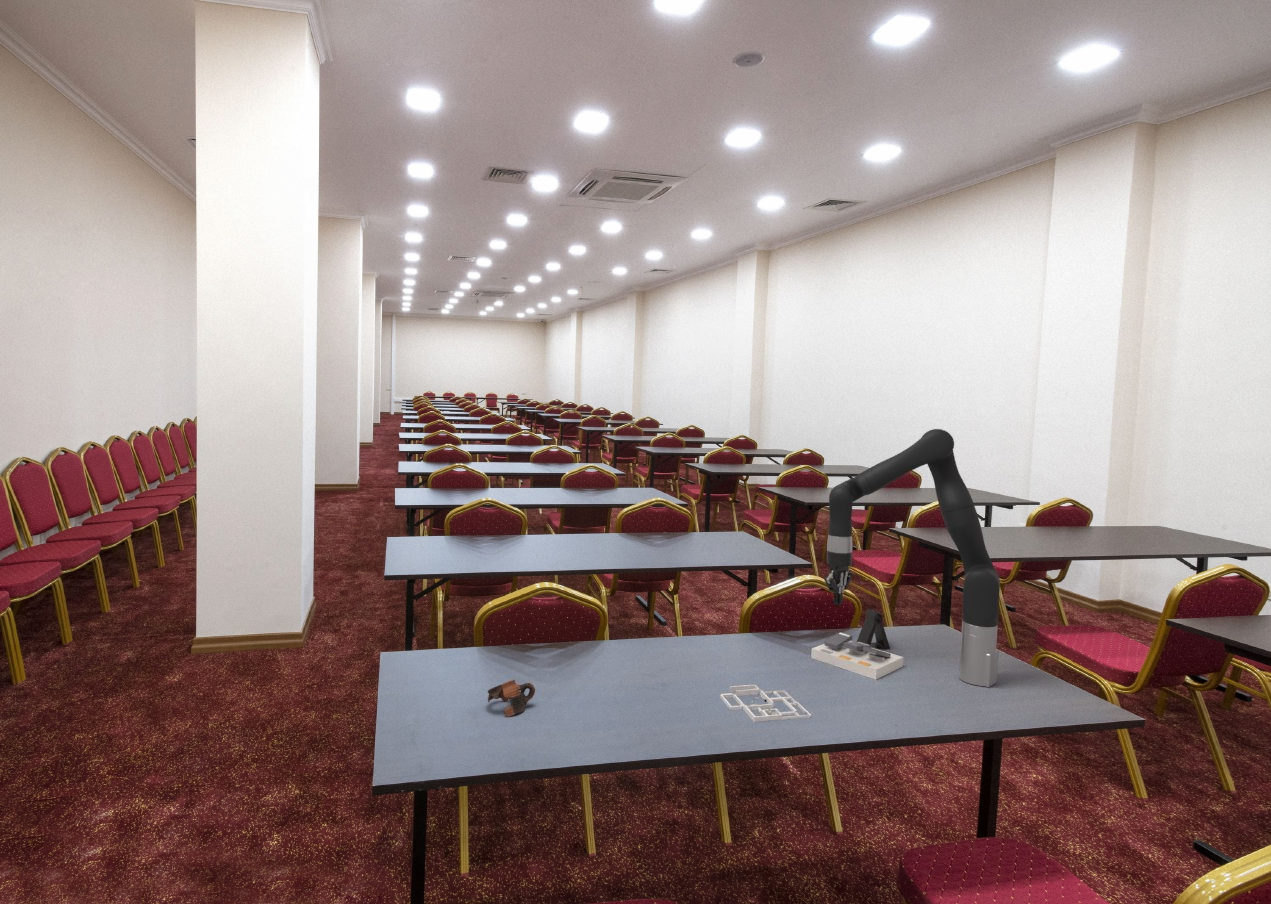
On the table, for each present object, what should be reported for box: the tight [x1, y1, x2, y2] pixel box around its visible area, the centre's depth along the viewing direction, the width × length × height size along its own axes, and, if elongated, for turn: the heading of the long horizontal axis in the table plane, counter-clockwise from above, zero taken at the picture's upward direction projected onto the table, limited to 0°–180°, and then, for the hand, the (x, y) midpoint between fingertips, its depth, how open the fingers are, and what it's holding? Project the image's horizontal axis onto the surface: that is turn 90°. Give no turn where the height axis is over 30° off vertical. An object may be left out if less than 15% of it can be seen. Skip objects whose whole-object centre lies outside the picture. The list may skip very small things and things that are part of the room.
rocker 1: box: [823, 632, 853, 649], centre depth 219 cm, size 4×9×1 cm, turn 132°
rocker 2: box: [843, 641, 871, 650], centre depth 214 cm, size 4×9×1 cm, turn 132°
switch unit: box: [810, 640, 904, 680], centre depth 214 cm, size 22×16×4 cm
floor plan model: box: [719, 684, 812, 723], centre depth 182 cm, size 19×25×2 cm
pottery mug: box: [487, 679, 536, 718], centre depth 178 cm, size 12×10×8 cm
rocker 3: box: [863, 646, 892, 658], centre depth 209 cm, size 4×9×1 cm, turn 132°
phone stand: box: [856, 608, 891, 651], centre depth 228 cm, size 9×6×12 cm, turn 97°
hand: (837, 604), depth 216 cm, fingers closed
